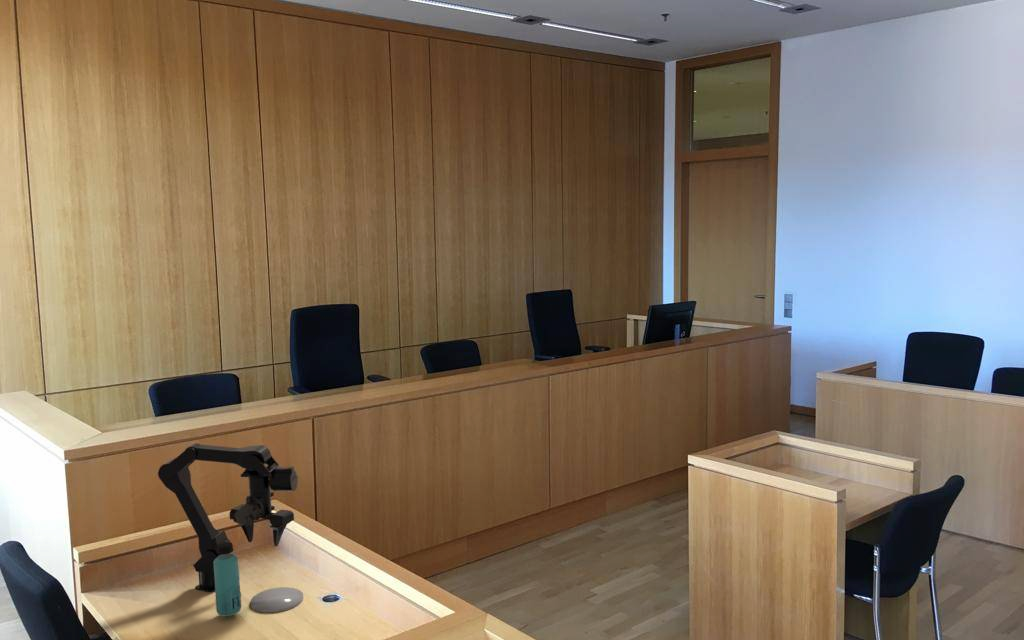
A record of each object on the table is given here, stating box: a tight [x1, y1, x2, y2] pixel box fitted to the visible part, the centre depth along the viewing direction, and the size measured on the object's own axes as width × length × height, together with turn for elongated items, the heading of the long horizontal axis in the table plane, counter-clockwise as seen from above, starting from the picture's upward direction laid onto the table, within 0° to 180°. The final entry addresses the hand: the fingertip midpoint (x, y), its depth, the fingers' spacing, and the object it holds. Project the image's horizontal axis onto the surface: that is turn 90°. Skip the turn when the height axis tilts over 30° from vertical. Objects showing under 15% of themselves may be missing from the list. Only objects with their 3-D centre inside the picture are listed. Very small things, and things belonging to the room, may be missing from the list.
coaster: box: [250, 586, 304, 614], centre depth 229 cm, size 14×14×1 cm
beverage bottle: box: [213, 542, 242, 617], centre depth 219 cm, size 6×7×20 cm
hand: (263, 543), depth 236 cm, fingers open, 9 cm apart
